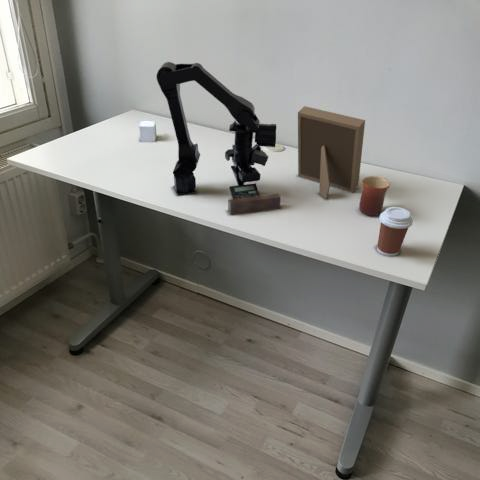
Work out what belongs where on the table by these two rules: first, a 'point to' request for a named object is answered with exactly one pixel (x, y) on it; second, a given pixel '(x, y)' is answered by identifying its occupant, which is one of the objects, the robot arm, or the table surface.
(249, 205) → the rail
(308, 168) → the photo frame
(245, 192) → the calculator
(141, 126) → the white cube
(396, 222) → the coffee cup
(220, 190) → the table surface
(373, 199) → the mug
